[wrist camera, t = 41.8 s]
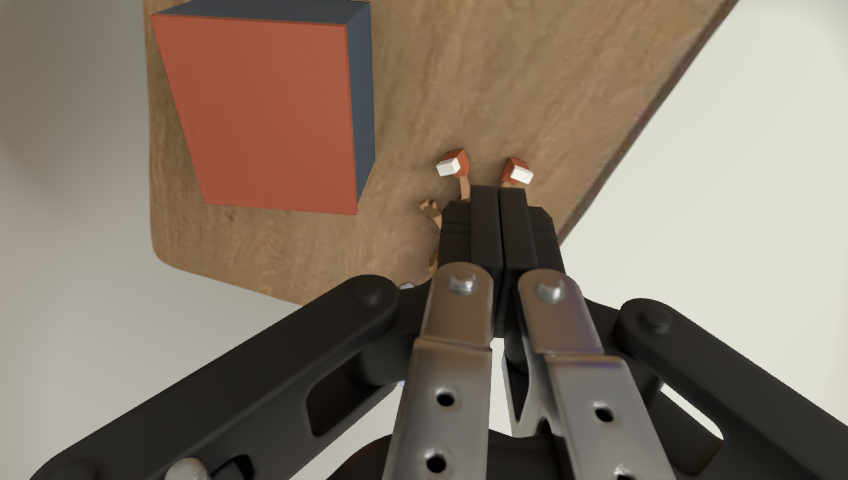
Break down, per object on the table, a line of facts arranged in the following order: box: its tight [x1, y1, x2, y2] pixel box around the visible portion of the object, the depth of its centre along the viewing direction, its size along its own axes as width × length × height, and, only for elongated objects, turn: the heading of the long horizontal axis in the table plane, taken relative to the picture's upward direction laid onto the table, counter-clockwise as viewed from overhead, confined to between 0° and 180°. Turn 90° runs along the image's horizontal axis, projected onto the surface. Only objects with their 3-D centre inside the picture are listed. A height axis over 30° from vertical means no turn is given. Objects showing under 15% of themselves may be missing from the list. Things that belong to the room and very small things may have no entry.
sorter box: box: [157, 0, 375, 203], centre depth 39 cm, size 15×14×9 cm
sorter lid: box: [150, 13, 358, 215], centre depth 36 cm, size 15×14×1 cm
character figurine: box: [419, 149, 533, 276], centre depth 49 cm, size 12×5×18 cm
